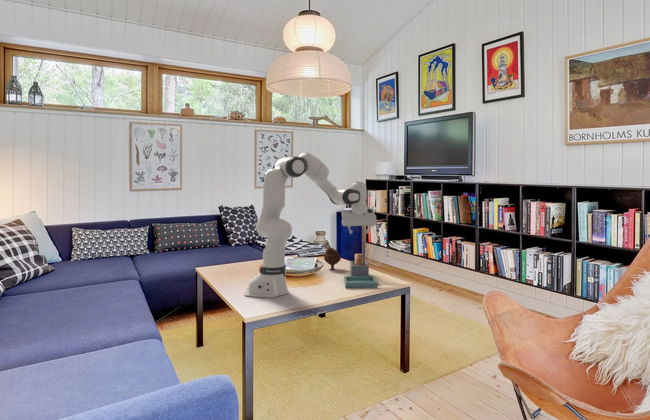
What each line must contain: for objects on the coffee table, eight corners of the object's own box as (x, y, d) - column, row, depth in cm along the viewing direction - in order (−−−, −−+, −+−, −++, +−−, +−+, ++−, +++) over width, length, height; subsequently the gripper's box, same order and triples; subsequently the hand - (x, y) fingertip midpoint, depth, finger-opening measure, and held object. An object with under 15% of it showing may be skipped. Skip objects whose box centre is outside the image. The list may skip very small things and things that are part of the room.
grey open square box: (351, 280, 227) (351, 265, 226) (349, 275, 237) (349, 261, 236) (368, 279, 227) (368, 265, 227) (366, 275, 237) (366, 261, 237)
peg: (355, 277, 230) (355, 255, 228) (354, 275, 235) (354, 253, 233) (363, 277, 230) (363, 255, 229) (362, 275, 235) (362, 253, 234)
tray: (345, 288, 211) (345, 282, 210) (343, 281, 225) (343, 276, 224) (377, 288, 211) (377, 282, 211) (373, 281, 225) (373, 275, 225)
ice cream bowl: (334, 274, 241) (334, 250, 240) (320, 271, 248) (320, 248, 247) (344, 270, 250) (344, 247, 248) (330, 268, 256) (330, 245, 255)
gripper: (341, 210, 225) (341, 234, 227) (377, 210, 226) (377, 234, 227) (340, 209, 232) (341, 232, 233) (375, 209, 232) (375, 232, 233)
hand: (359, 233), depth 230 cm, fingers open, 8 cm apart
